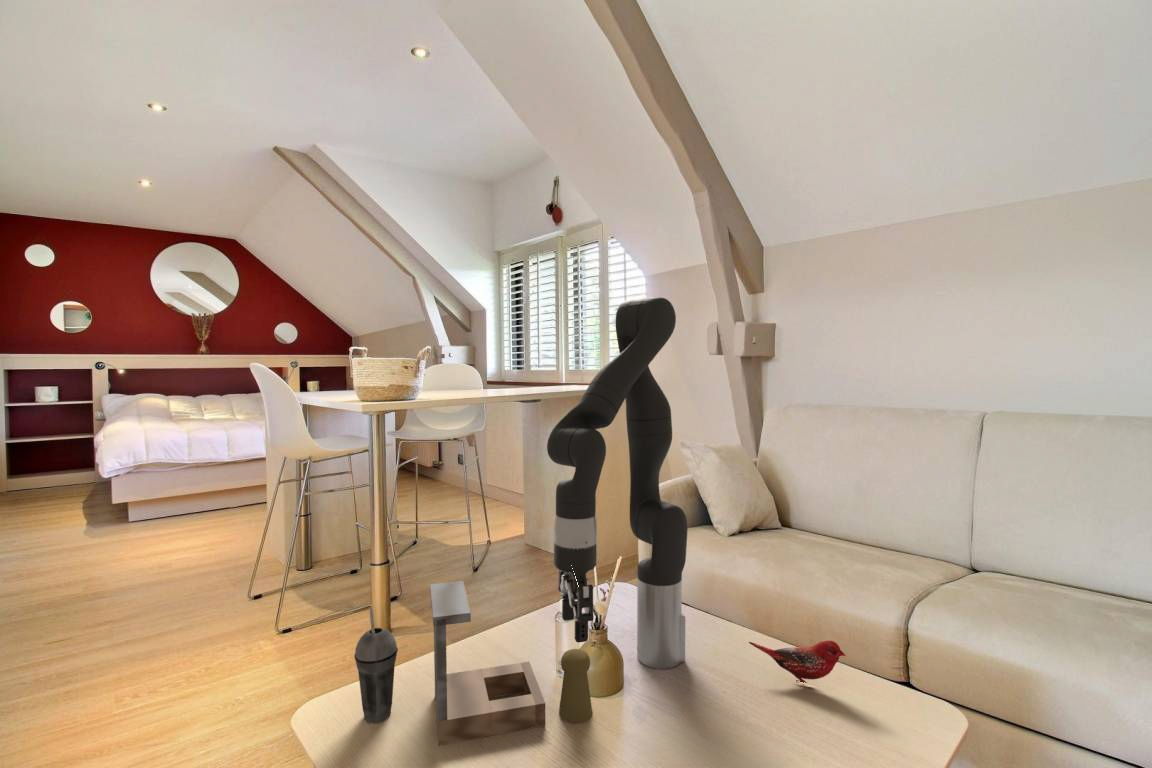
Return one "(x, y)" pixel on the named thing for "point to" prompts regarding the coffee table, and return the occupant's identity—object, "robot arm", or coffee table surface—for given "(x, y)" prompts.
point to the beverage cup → (376, 672)
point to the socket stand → (477, 682)
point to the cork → (575, 687)
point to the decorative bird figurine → (806, 659)
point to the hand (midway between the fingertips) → (574, 629)
